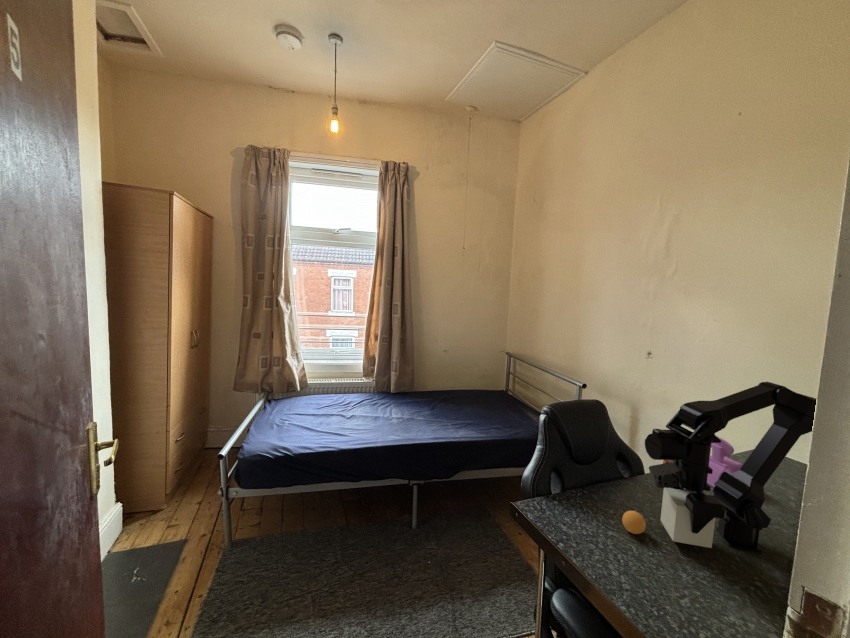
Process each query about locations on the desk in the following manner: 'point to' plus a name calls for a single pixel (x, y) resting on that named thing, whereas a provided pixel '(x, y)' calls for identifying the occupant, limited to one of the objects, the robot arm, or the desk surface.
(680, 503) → the plain beige cube
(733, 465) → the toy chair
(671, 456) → the robot arm
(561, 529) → the desk surface
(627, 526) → the ball
